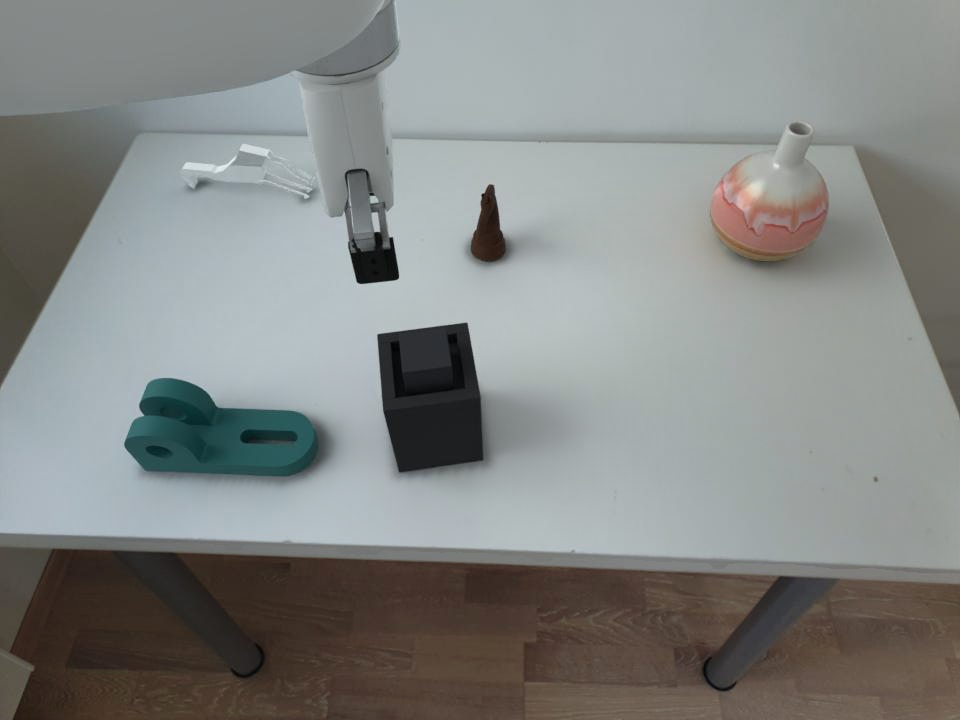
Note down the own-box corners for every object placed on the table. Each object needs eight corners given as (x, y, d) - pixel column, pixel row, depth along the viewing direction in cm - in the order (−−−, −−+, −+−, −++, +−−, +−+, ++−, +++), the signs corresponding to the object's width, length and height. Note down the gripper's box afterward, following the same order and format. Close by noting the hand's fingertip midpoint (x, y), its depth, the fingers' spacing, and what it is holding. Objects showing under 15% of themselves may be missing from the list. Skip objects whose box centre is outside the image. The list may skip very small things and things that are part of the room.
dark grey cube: (407, 396, 67) (402, 372, 64) (403, 358, 70) (398, 333, 66) (454, 390, 67) (451, 365, 64) (448, 352, 70) (446, 327, 67)
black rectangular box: (399, 472, 75) (383, 411, 64) (392, 401, 80) (376, 333, 70) (483, 460, 75) (480, 397, 65) (471, 390, 80) (467, 321, 70)
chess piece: (466, 258, 92) (463, 200, 84) (477, 231, 95) (475, 172, 87) (500, 265, 91) (500, 206, 83) (510, 237, 94) (511, 178, 86)
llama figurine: (304, 221, 106) (183, 175, 102) (318, 167, 97) (185, 115, 93) (301, 230, 105) (178, 183, 101) (314, 176, 96) (180, 123, 92)
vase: (701, 275, 90) (740, 162, 75) (699, 201, 97) (734, 87, 83) (814, 286, 88) (875, 173, 74) (802, 210, 96) (856, 96, 82)
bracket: (145, 470, 75) (112, 434, 69) (165, 416, 79) (135, 376, 73) (311, 477, 74) (293, 441, 68) (323, 422, 78) (307, 382, 72)
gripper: (277, -38, 47) (327, 168, 61) (265, 120, 37) (328, 324, 51) (390, -47, 48) (414, 160, 62) (407, 106, 38) (432, 312, 51)
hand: (375, 234), depth 56 cm, fingers open, 9 cm apart
